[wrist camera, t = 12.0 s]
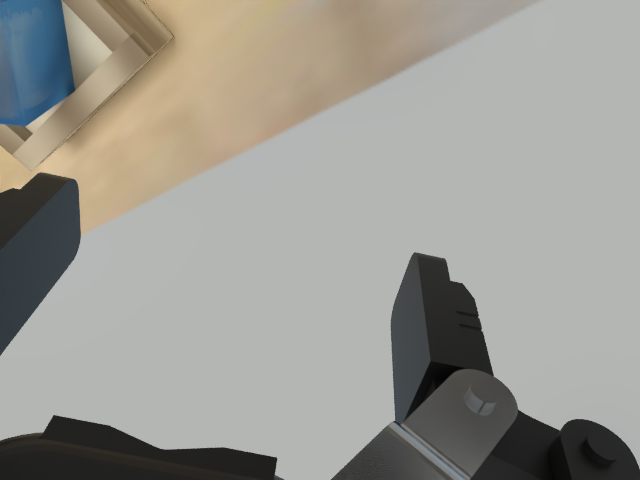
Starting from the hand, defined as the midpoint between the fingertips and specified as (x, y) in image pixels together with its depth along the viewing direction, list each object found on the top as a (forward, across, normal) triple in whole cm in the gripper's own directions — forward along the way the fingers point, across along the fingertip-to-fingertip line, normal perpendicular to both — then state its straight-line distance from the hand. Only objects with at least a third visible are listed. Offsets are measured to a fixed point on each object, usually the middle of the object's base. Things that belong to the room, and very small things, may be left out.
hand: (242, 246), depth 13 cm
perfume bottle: (+23, +18, +4) cm, 29 cm away
